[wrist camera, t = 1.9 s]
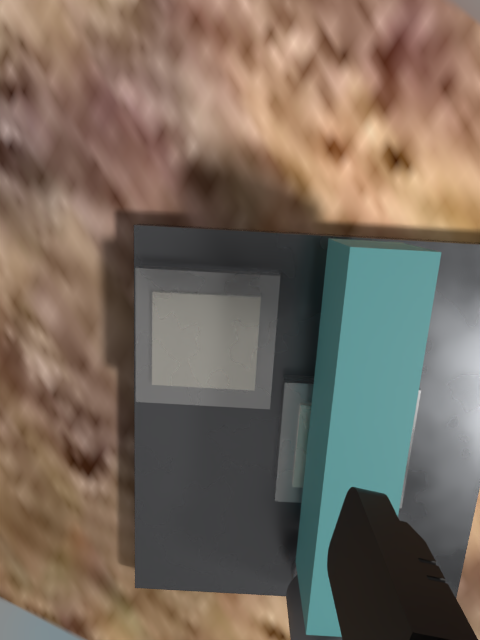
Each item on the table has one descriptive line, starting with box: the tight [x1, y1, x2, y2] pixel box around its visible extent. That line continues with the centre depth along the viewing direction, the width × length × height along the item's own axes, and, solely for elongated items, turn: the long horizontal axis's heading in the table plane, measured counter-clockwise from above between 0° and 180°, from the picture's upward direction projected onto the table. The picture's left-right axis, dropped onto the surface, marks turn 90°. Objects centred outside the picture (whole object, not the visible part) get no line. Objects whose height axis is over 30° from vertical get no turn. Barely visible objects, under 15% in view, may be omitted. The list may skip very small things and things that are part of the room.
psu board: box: [134, 224, 480, 598], centre depth 23 cm, size 20×18×3 cm
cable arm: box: [286, 238, 441, 640], centre depth 19 cm, size 20×4×4 cm, turn 177°
